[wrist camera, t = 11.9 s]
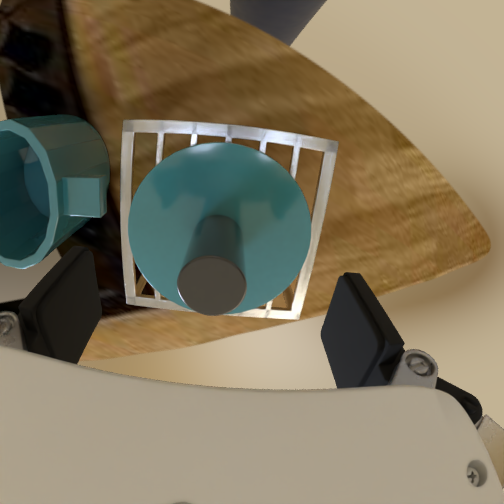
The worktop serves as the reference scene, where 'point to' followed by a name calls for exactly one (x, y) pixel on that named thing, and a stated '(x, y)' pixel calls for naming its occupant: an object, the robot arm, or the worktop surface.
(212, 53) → the worktop surface
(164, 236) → the lid
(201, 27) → the worktop surface
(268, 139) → the rack
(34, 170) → the pot
